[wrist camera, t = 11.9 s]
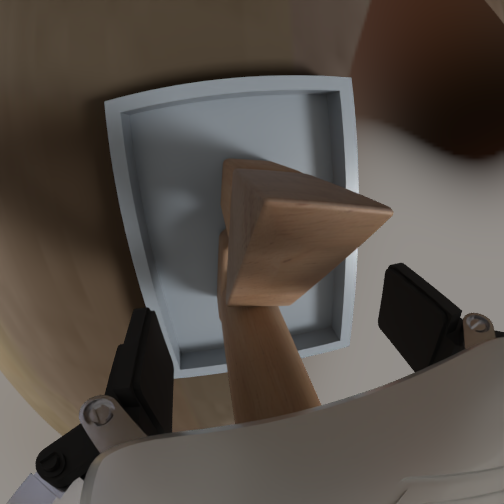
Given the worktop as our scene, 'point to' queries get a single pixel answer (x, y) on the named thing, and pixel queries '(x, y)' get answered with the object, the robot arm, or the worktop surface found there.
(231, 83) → the tray
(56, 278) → the worktop surface
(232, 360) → the wooden mallet
